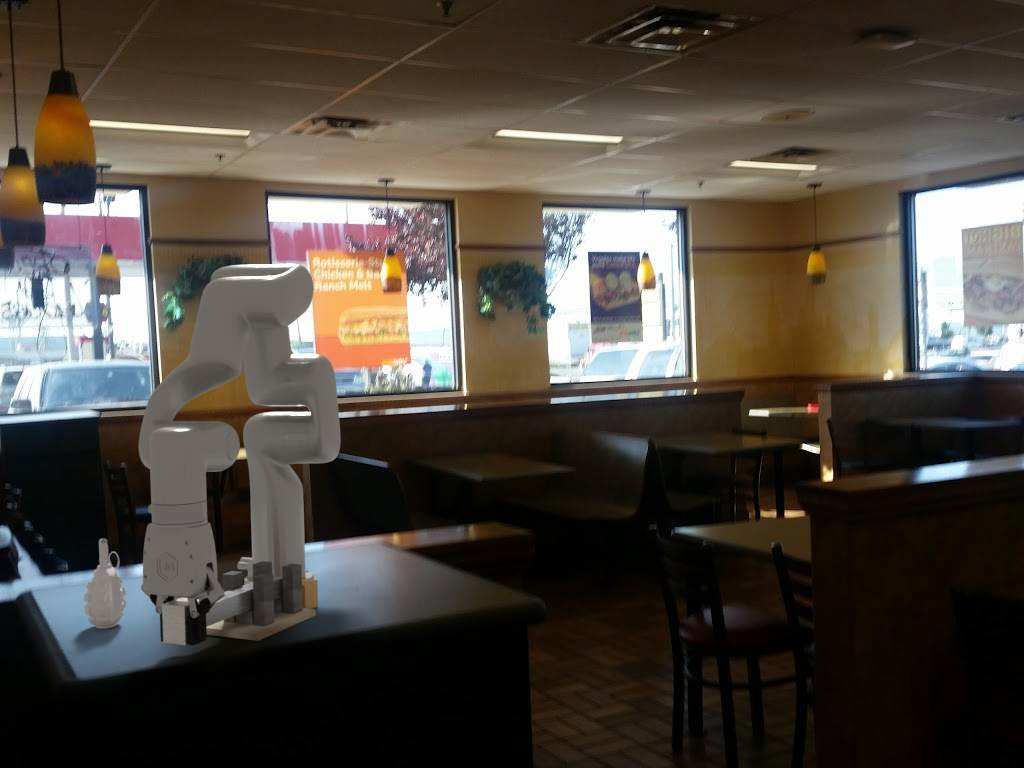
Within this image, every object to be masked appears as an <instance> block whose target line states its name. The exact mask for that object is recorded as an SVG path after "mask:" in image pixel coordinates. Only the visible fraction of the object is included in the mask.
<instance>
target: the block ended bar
mask: <svg viewBox="0 0 1024 768" xmlns="http://www.w3.org/2000/svg"><path fill="white" fill-rule="evenodd" d="M273 588H274V600H276V599H278V598H281V597H283V578H282V576H273ZM224 593H225V595H224V597H222V598H221V599H220V600H219V601H217V602H216V603H215V604H214V605H213V606H212V608H211V609H210V612H209V613H207V614H206V627H207V626H210V625H212V624H215V623H217V622H220V621H222V620H225V619H228V618H230V617H233V616H235V615H238V614H240V613H243V612H245V611H248V610H250V609H253V608H254V599H253V582H251V583H248V584H246V585H245V584H243V586H240V587H237V588H234V589H232V590H229V591H226V592H224ZM197 602H198V604H199V603H200V602H199V598H197ZM189 617H191V613H190V608H189V604H188V599H187V598H183V597H177V598H176V600H173V601H170V602H167V603H164V604H162V619H163V642H162V643H164V644H170V645H171V644H173V645H180V646H187V645H189V644H188V624H187V620H188V618H189Z"/></svg>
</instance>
